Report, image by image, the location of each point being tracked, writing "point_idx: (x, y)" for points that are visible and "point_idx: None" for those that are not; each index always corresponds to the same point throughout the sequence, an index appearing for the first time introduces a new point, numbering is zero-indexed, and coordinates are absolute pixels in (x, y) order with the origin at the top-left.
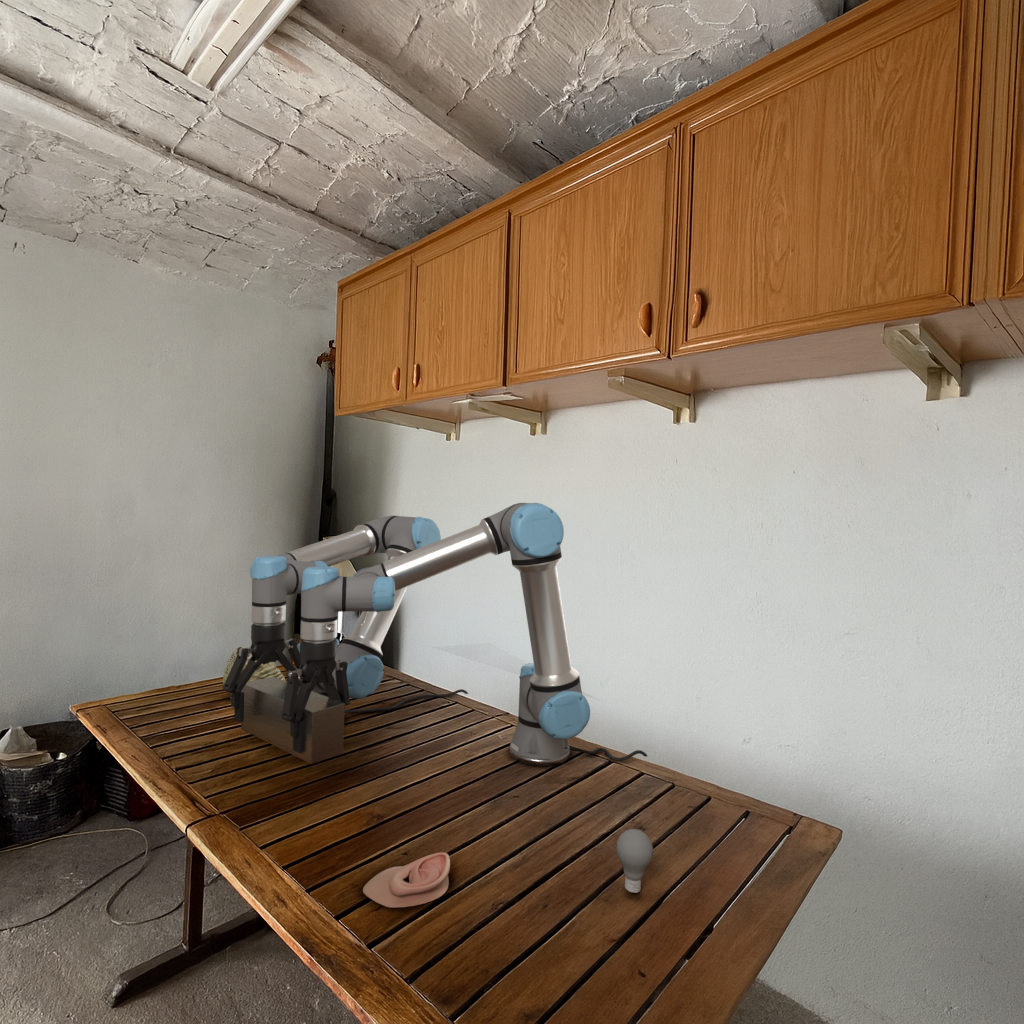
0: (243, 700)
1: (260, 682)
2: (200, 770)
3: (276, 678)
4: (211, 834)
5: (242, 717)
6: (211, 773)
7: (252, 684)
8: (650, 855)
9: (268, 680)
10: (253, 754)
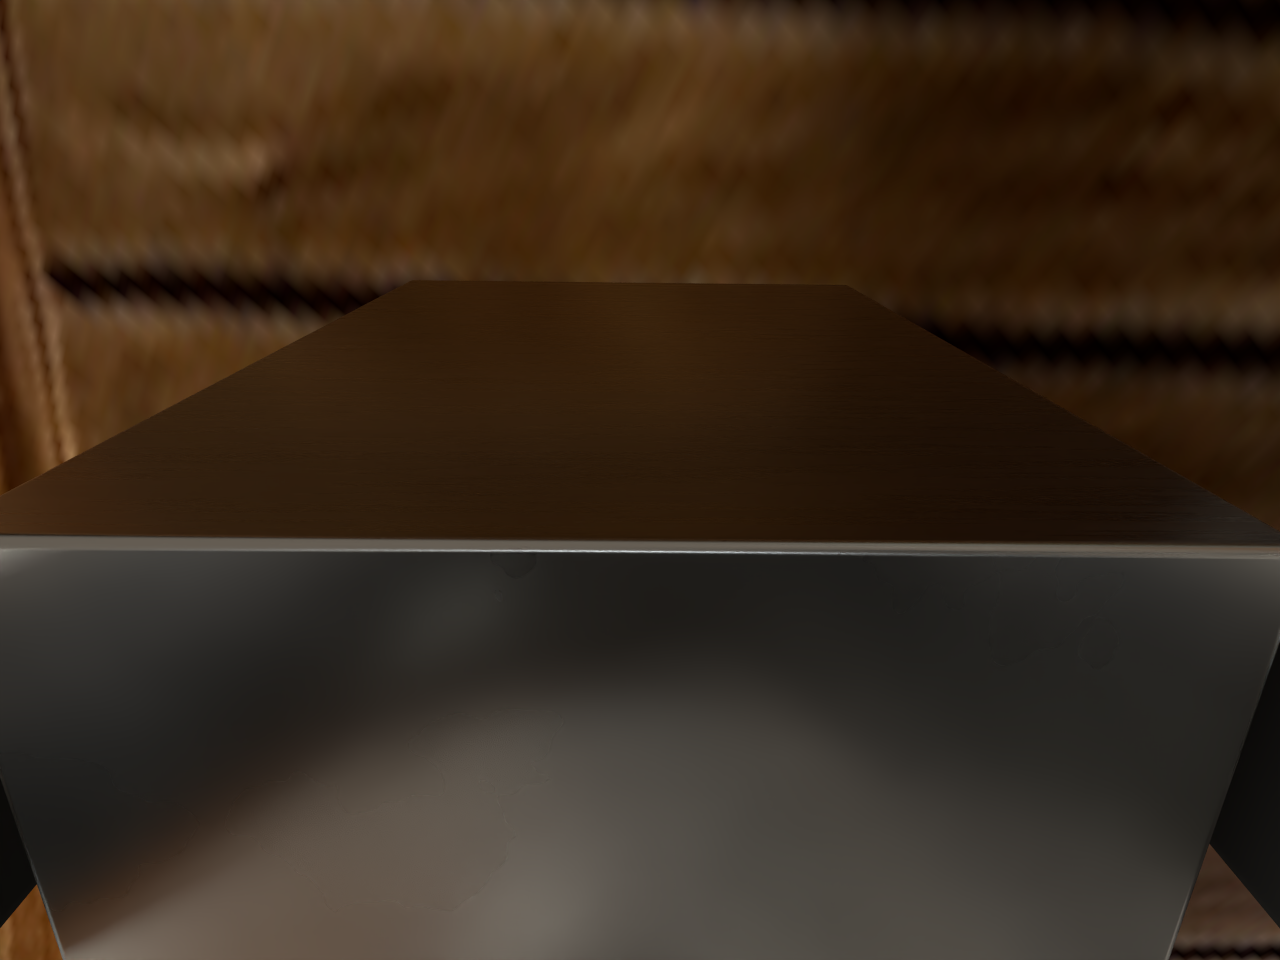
0: (13, 896)
1: (512, 858)
2: (187, 99)
3: (1170, 815)
4: (37, 903)
5: None
6: (245, 229)
7: (204, 873)
8: None
9: (837, 834)
10: (678, 107)
